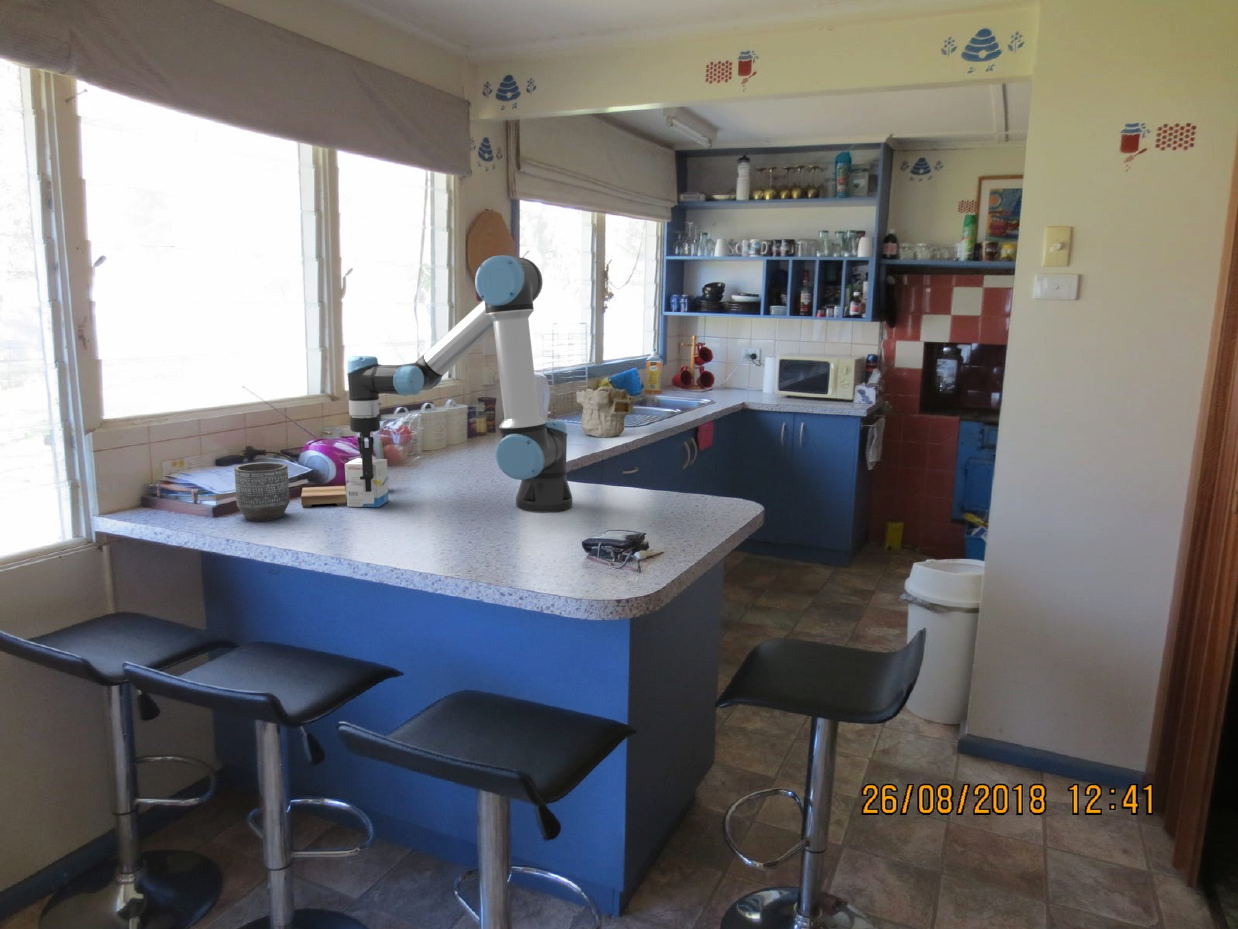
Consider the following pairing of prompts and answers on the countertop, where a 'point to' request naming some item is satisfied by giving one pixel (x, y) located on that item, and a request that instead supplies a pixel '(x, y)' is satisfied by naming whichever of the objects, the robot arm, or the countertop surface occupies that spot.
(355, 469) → the ink box
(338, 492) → the riser
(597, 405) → the ceramic vessel
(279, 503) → the planter
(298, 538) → the countertop surface
